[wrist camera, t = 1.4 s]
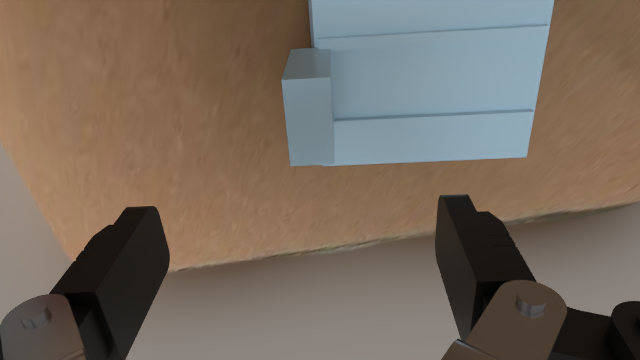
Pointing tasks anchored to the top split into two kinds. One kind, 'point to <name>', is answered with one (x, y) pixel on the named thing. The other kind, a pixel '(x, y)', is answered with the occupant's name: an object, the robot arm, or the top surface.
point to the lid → (415, 81)
